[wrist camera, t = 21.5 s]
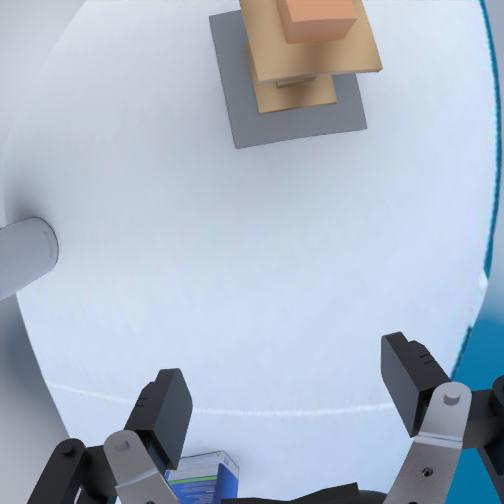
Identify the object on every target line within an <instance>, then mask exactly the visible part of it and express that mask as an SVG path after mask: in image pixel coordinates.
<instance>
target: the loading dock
mask: <svg viewBox="0 0 504 504" xmlns="http://www.w3.org/2000/svg"><path fill="white" fill-rule="evenodd" d="M209 21H210V25H211V30H212V35H213V40H214V45H215V50H216V55H217V60H218V65H219V70H220V75H221V80H222V84H223V89H224V94H225V99H226V104H227V109H228V114H229V119H230V124H231V129H232V134H233V139H234V144H235V148H236V149H240V148H245V147H251V146H256V145H261V144H267V143H273V142H278V141H285V140H291V139H297V138H304V137H310V136H318V135H325V134H333V133H341V132H349V131H359V130H364V129H367V124H366V119H365V114H364V109H363V105H362V100H361V95H360V91H359V87H358V82H357V78H356V74H355V73H349V74H336V75H331V76H332V80H333V84H334V88H335V93H336V97H337V103H336V104H332V105H323V106H315V107H307V108H300V109H293V110H286V111H280V112H274V113H268V114H262V115H260V114H259V109H258V105H257V100H256V95H255V91H254V86H253V81H252V77H251V72H250V68H249V63H248V59H247V54H246V50H245V44H244V43H247V42H249V39H248V35H247V31H246V27H245V23H244V19H243V14H242V10H238V11H232V12H227V13H222V14H217V15H213V16H209Z"/></svg>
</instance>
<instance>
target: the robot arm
mask: <svg viewBox="0 0 504 504" xmlns="http://www.w3.org/2000/svg"><path fill="white" fill-rule="evenodd" d="M57 257H58V245H57V240H56V238H55V235H54V233H53V231H52V229H51V228H50V226H49V225H48V224H47V223H46V222H45V221H43V220H41V219H40V218H36V217H34V218H29V219H26V220H23V221H20V222H17V223H13V224H10V225H7V226H5V227H2V228H0V302H1V301H3V300H5V299H6V298H8V297H9V296H11V295H12V294H14V293H15V292H17V291H19V290H20V289H22V288H23V287H25V286H26V285H28V284H30V283H31V282H33V281H34V280H36V279H38V278H39V277H41V276H42V275H44V274H46V273H47V272H49V271H51V270H52V268H53V267H54V266H55V264H56V261H57ZM381 373H382V378H383V381H384V383H385V385H386V387H387V389H388V391H389V393H390V395H391V397H392V399H393V402H394V404H395V406H396V408H397V410H398V412H399V414H400V416H401V418H402V420H403V423H404V425H405V427H406V429H407V431H408V433H409V436H410V438H412V437H415V438H414V440H413V443H412V445H411V448H410V450H409V452H408V454H407V457H406V459H405V461H404V463H403V465H402V467H401V470H400V472H399V474H398V476H397V478H396V480H395V482H394V484H393V486H392V488H391V490H390V491H389V493H388V494H386V493H382V492H377V491H369V490H359V489H358V485H357V482H355V483H351V484H346V485H342V486H337V487H332V488H326V489H322V490H320V491H317V492H314V493H312V494H309V495H306V496H303V497H300V498H297V499H294V500H291V501H280V500H270V499H262V498H255V497H252V498H227V499H221V504H444V501H445V498H446V496H447V493H448V490H449V487H450V484H451V481H452V478H453V475H454V472H455V469H456V466H457V462H458V459H459V456H460V452H461V449H468V448H475V447H476V449H477V451H478V453H479V455H480V457H481V459H482V461H483V463H484V465H485V467H486V469H487V471H488V474H489V476H490V478H491V480H492V482H493V485H494V487H495V489H496V491H497V494H498V496H499V498H500V500H501V503H502V504H504V375H503V376H500V377H498V378H497V379H496V380H495V381H494V383H493V386H492V389H487V390H481V391H470V390H469V388H468V387H467V386H465V385H463V384H461V383H458V382H452V381H451V380H450V379H449V377H448V376H447V375H446V373H445V372H444V371H443V369H442V368H441V367H440V365H439V364H438V363H437V361H435V359H434V357H433V356H432V355H430V352H429V351H428V350H427V348H426V347H425V346H424V345H422V344H420V343H419V342H417V341H415V340H413V341H410V342H408V340H407V339H406V338H405V336H404V335H403V334H402V332H396V333H392V334H388V335H384V336H382V338H381ZM192 407H193V405H192V398H191V395H190V393H189V390H188V388H187V385H186V382H185V380H184V377H183V375H182V372H181V370H180V369H179V368H174V369H161V370H160V371H159V373H158V375H157V378H156V380H155V382H150V383H149V384H148V385H147V386H146V387H145V388H144V389H142V391H141V393H140V396H139V398H138V400H137V402H136V404H135V407H134V408H133V410H132V412H131V415H130V417H129V419H128V421H127V423H126V425H125V427H124V429H123V430H121V431H118V432H115V433H113V434H112V435H110V436H109V437H108V438H107V439H106V441H105V443H104V445H100V446H94V447H87V448H86V446H85V445H84V444H83V442H82V441H81V440H79V439H75V438H71V439H67V440H64V441H62V442H61V443H59V445H57V447H56V448H55V450H54V451H53V453H52V455H51V457H50V459H49V461H48V463H47V465H46V467H45V469H44V470H43V472H42V474H41V476H40V478H39V480H38V482H37V484H36V486H35V488H34V490H33V492H32V494H31V496H30V498H29V500H28V503H27V504H74V500H75V497H76V495H77V492H78V490H79V487H80V488H81V489H82V490H81V493H80V495H79V498H78V500H77V503H76V504H115V502H116V498H117V496H119V498H120V501H121V503H122V504H183V503H182V502H181V500H180V499H179V497H178V496H177V494H176V493H175V491H174V490H173V488H172V487H171V485H170V484H169V482H168V481H167V479H166V478H165V473H166V470H177V468H178V464H179V460H180V456H181V452H182V448H183V444H184V440H185V436H186V433H187V429H188V425H189V421H190V417H191V413H192Z"/></svg>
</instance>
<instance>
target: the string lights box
mask: <svg viewBox="0 0 504 504" xmlns="http://www.w3.org/2000/svg"><path fill="white" fill-rule="evenodd" d="M165 478H166V479H167V481H168V482H169V484H170V485H171V487H172V488H173V490H174V491H175V493H176V494H177V496H178V497H179V499H180V500H181V502H182V503H183V504H221V499H227V498H237V491H238V478H239V468H238V467H237V466H236V465H235V463H234V462H233V461H232V460H231V459H230V458H229V456H228V455H227V454H226V453H225V452H224V451H220V452H215V453H211V454H205V455H200V456H194V457H188V458H181V459H180V460H179V464H178V468H177V470H167V471H166V475H165Z"/></svg>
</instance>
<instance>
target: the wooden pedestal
mask: <svg viewBox="0 0 504 504" xmlns="http://www.w3.org/2000/svg"><path fill="white" fill-rule="evenodd" d="M351 1H352V3H353V6H354V9H355V12H356V15H357V20H356V21H355V23H354V24H353V25H352V27H351V28H350V30H349V31H348V33H347V34H346V35H345V37H344V38H343V40H330V41H317V42H306V43H296V44H288V45H287V41H286V37H285V34H284V30H283V26H282V22H281V19H280V15H279V12H278V8H277V5H276V1H275V0H239V2H240V6H241V10H242V14H243V19H244V23H245V27H246V31H247V35H248V39H249V42H247V43H244V44H245V50H246V54H247V59H248V63H249V68H250V72H251V77H252V81H253V86H254V91H255V95H256V100H257V105H258V109H259V114H260V115H262V114H268V113H274V112H280V111H286V110H293V109H300V108H307V107H315V106H323V105H332V104H336V103H337V97H336V93H335V88H334V84H333V80H332V76H331V75H336V74H349V73H367V72H379V71H380V70H382V69H383V68H382V64H381V61H380V57H379V53H378V50H377V46H376V43H375V40H374V36H373V33H372V30H371V27H370V24H369V21H368V18H367V15H366V12H365V9H364V6H363V3H362V1H361V0H351Z"/></svg>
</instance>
